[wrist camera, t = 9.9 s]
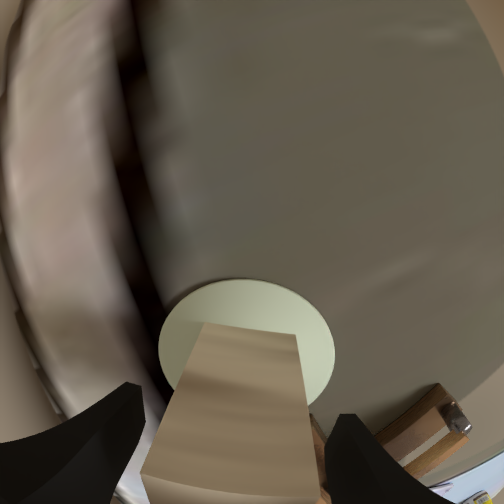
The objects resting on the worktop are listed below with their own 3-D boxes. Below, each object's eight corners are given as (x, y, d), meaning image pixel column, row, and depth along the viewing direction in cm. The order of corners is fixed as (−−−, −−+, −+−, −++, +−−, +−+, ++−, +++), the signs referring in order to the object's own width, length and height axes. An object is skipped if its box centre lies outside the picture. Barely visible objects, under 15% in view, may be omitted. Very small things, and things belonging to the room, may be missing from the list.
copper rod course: (375, 486, 16) (385, 523, 12) (234, 475, 15) (228, 522, 11) (464, 385, 13) (494, 423, 9) (301, 357, 13) (311, 419, 9)
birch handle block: (279, 400, 13) (283, 541, 5) (200, 389, 13) (158, 525, 5) (295, 334, 12) (320, 496, 4) (204, 321, 12) (139, 472, 4)
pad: (293, 432, 14) (294, 436, 14) (150, 392, 14) (149, 395, 13) (362, 310, 12) (364, 312, 12) (180, 252, 12) (178, 253, 12)
